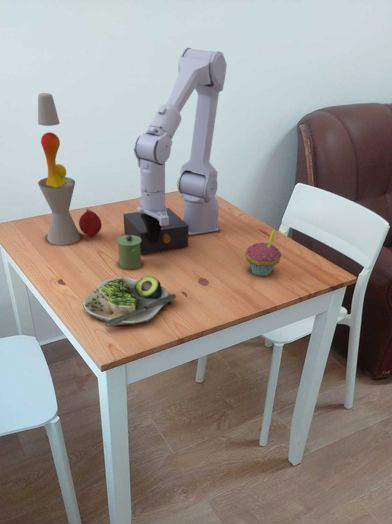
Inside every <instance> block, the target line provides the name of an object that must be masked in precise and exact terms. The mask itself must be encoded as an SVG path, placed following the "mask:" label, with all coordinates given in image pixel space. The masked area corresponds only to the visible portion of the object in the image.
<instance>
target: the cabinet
mask: <svg viewBox="0 0 392 524" xmlns="http://www.w3.org/2000/svg"><path fill="white" fill-rule="evenodd" d="M166 211H167V216H168V217H169V225H165V226H162V228H164V227H170V226H176V225H183V224H186V223H185V222H184V221H183V218H181V217H180V216H178V214H176V213H175V212H174V210H172V209H171V207H166ZM141 214H145V213H143V212H142V213H139V212H138V211H135V212H128V213H123V214H122V215H123V232H124V235H135V236H138V237H139V231H144V230H146V227H145V224H144V222H143V220H142V218H141ZM124 235H123V236H124Z"/></svg>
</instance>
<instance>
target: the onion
mask: <svg viewBox="0 0 392 524" xmlns="http://www.w3.org/2000/svg"><path fill="white" fill-rule="evenodd" d="M78 226H79V230H80V231H81V232H82V233H83V234H85V235H86V236H87V237H89V238H93V237H95V236H96V235H97V234H99V233H100V231H101V229H102V226H103V225H102V220H101V218H100V217H99V216H98V215H97V214H96V212H94V211H92V210H91V209H90V208H89V207H87V208H86V211H85V212H83V214H82V215H81V216H80V217H79V220H78Z"/></svg>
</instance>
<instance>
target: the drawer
mask: <svg viewBox="0 0 392 524" xmlns="http://www.w3.org/2000/svg"><path fill="white" fill-rule="evenodd" d="M188 227H189V226H188V225H187V224H183V225H176V226H170V227H164V228H161V231H160V235H159V241H158V242H155V243H150V242H149V239H148V234H147V230H144V231H139V237H140V238H141V255H145V254H150V253H157V252H161V251H167V250H173V249H179V248H184V247H188V246H189V235H188Z"/></svg>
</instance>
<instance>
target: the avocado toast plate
mask: <svg viewBox="0 0 392 524" xmlns="http://www.w3.org/2000/svg"><path fill="white" fill-rule="evenodd" d="M176 297H177V294H175V293H172V294H170V293H169V291H168V290H167V288H166V287H164V286H162V285H161V282H160V281H159V279H157V277H155V276H153V275H145V276H143V277H140V280H138V279H134V278H131V277H124V276H117V277H112V278H108V279H105V280H104V281H102V282H101V283H100V284H99V285H98V286H97V287H96V288H95V289H94V290H92V292H91V293H89V294H88V295H87V296H86V298H85V299H84V300H83V302H82V303H83V305H82V307H83V309H84V310H85V312H86V313H87V314H88V315H90V316H92V317H94V318H95V319H97V320H98V321H102V322H104V326H105V327H106V328H111V327H115V326H122V325H135V324H140V323H141V324H142V323H146V322H148V321H151V320H152V319H153V318H154V317H156V316H157V314H158V313H159V312H160V311H161V309H162V308H163V307H164V306H165V305H167V304H168V303H170V302H171V301H173V300H174V299H176Z"/></svg>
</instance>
